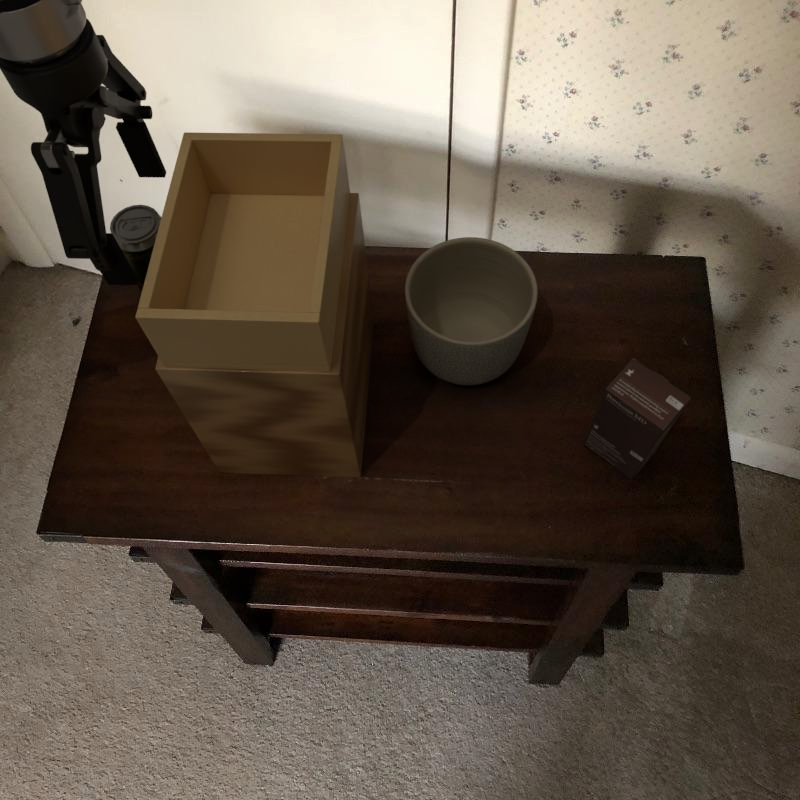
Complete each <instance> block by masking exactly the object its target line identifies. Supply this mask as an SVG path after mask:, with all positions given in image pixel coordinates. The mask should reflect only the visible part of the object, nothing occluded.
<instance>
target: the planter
mask: <svg viewBox="0 0 800 800" xmlns="http://www.w3.org/2000/svg"><path fill="white" fill-rule="evenodd" d="M538 290H539V289H538V283H537V279H536V275H535V273H534V271H533V270H532V268H531V266H530V264H529V263H528V262H527V261H526V260H525V258H524V257H522V256H521V254H519V253H518V252H517V251H515V250H514V249H512V248H511V247H509V246H508V245H506V244H504V243H501V242H499V241H496V240H492V239H489V238H485V237H473V236H464V237H456V238H451V239H447V240H445V241H442V242H439V243H437V244H435V245H433V246H432V247H430V248H428V249H427V250H425V251H424V252H423V253H422V254H420V255H419V256H418V258H416V260H415V261H414V262H413V264H412V265H411V267H410V269H409V271H408V273H407V275H406V279H405V284H404V301H405V310H406V319H407V323H408V329H409V333H410V337H411V338H410V339H411V342H412V345H413V348H414V352H415V354H416V355H417V357H418V359H419V361H420V362H421V364H422V365H423V366H424V367H425V368H426V369H427V370H428V371H429V373H431V374H433V375H434V376H436V377H437V378H438V379H440V380H441V381H444V382H447V383H449V384H454V385H460V386H477V385H482V384H486V383H489V382H491V381H494V380H495V379H497V378H499V377H501V376H503V374H504V373H506V372H507V371H508V370H509V369H510V368H511V367H512V366H513V365H514V363H515V362H516V360H517V358H518V357H519V355H520V353H521V351H522V349H523V346H524V344H525V342H526V339H527V337H528V333H529V331H530V329H531V325H532V321H533V319H534V315H535V311H536V308H537V303H538V295H539V293H538Z"/></svg>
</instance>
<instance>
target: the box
mask: <svg viewBox="0 0 800 800" xmlns="http://www.w3.org/2000/svg"><path fill="white" fill-rule="evenodd" d="M604 390H605V391H604V392H603V395H602V397H601V399H600V402H599V404H598V407H597V409H596V411H595V414H594V415H593V418H592V420H591V422H590V425H589V428H588V430H587V432H586V435H585V437H584V439H583V442H582V445H583V446H585V447H586V448H588V449H589V450H591V451H592V452H593V453H595V454H596V455H597V456H598V457H600V458H602V460H604V461H605V462H607V463H608V464H610V465H611V466H612V467H614V469H616V470H617V471H618V472H620V473H621V474H622V475H624V476H625V477H626V478H627V479H629V480H631V481H632V480H634V478H635V477H636V476H637V474H638V473H639V472H640V471H641V470H642V469H643V468H644V466H645V465H646V464H647V463H648V462H649V460H650V459H651V458H652V457H653V455H654V454H656V452H657V451H658V449H659V448H660V446H661V445H662V443H663V442H664V440H665V439H666V437H667V435H668V434H669V432H670V431H671V430H672V428H673V427H674V425H675V423H676V422H677V420H678V419H679V417H680V416H681V415H682V413H683V412H684V410H686V407H687V406H688V404H689V403H690V402H691V400H692V399H691V396H690V395H688V394H686V393H685V392H684V391H682V390H681V389H679V388H677V387H676V386H674V385H673V384H672V383H671V382H670V381H669V380H668V379H667V378H665V377H664V376H663V375H662V374H659V373H657V372H656V371H652V370H651V369H649V368H648V367H646V365H644V364H642V362H639V361H638V360H637V359H636V358H634V357H633V358H631V359H630V361H629V362H628V363H627V364H626V365H625V366H624V367H623V369H622V370H621V371H620V372H619V373H618V374H617V375H616V377H615V378H614V379H613V380H612V381H611V382H610V383H609V385H608V386H607V387H606V388H605V389H604Z"/></svg>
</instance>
